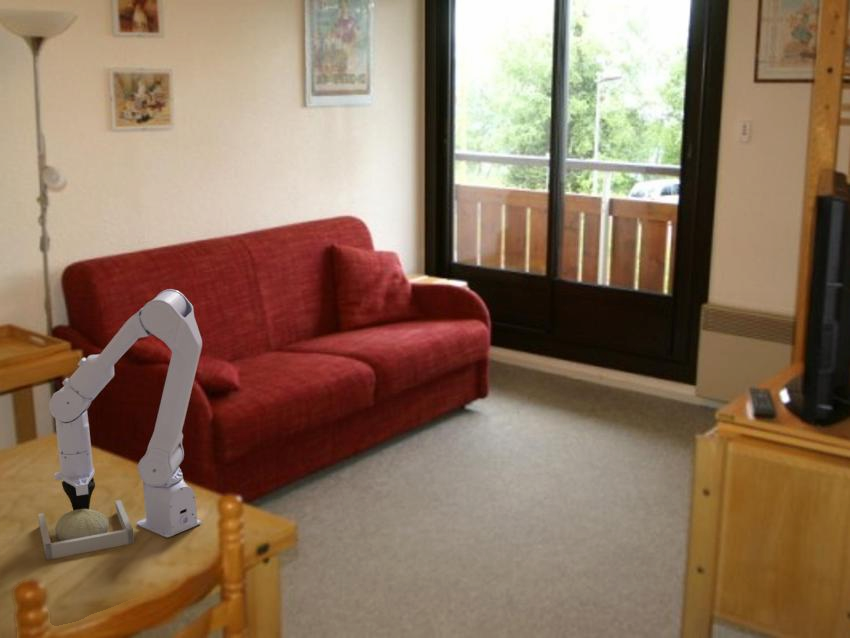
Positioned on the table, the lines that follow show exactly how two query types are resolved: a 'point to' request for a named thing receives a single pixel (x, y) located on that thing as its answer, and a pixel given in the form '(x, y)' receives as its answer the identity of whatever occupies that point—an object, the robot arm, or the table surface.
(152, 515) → the robot arm
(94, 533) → the sea urchin shell
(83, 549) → the grey u-shaped bracket
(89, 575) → the table surface
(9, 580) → the table surface
